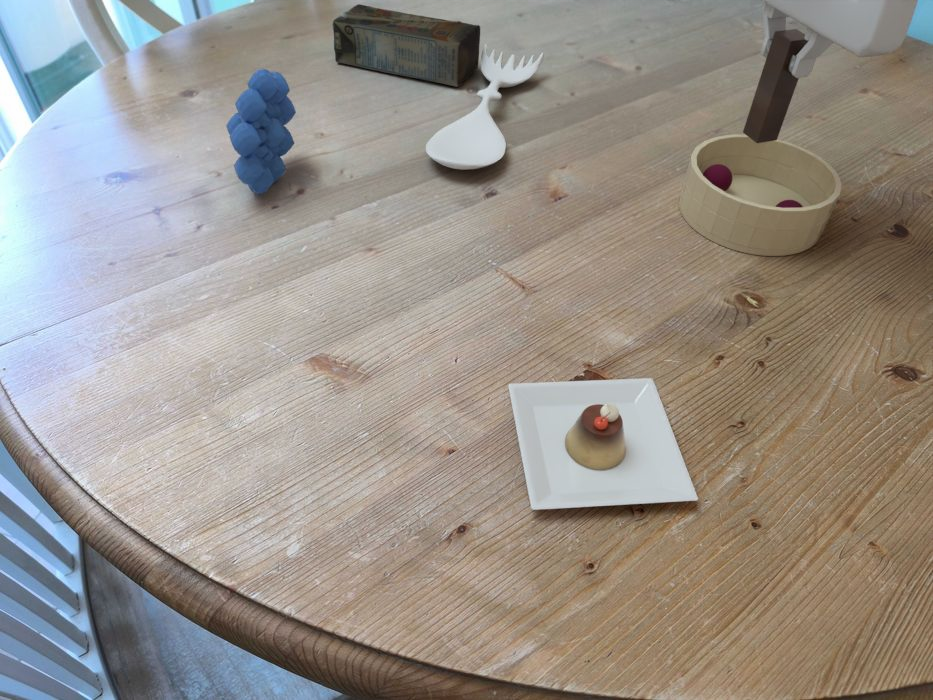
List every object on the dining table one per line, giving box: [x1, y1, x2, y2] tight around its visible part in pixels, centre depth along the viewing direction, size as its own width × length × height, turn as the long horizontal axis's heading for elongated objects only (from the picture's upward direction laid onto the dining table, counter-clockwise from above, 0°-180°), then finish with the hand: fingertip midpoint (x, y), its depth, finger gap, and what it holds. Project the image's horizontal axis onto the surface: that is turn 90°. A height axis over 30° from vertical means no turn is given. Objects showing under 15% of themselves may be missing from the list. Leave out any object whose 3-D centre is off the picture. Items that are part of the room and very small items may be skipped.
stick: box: [742, 28, 808, 143], centre depth 71 cm, size 2×2×10 cm
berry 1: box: [703, 164, 732, 191], centre depth 82 cm, size 3×3×3 cm
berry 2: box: [775, 200, 803, 208], centre depth 78 cm, size 3×3×3 cm
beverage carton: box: [331, 4, 481, 88], centre depth 103 cm, size 8×19×7 cm, turn 69°
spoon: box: [425, 43, 545, 170], centre depth 94 cm, size 9×32×4 cm, turn 165°
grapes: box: [226, 67, 297, 195], centre depth 78 cm, size 12×7×12 cm, turn 166°
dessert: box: [507, 377, 699, 511], centre depth 56 cm, size 12×12×5 cm
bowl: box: [678, 133, 843, 257], centre depth 80 cm, size 15×15×6 cm
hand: (783, 65), depth 70 cm, fingers closed on stick, 2 cm apart
